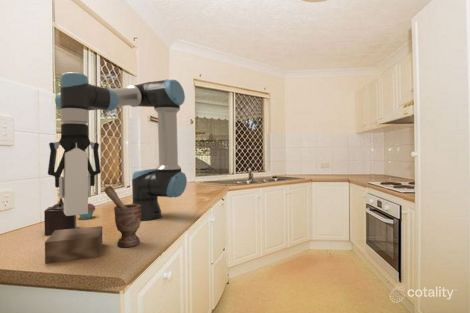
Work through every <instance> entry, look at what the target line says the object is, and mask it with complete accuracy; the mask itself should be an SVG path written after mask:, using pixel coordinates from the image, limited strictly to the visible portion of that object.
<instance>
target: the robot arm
mask: <svg viewBox="0 0 470 313" xmlns="http://www.w3.org/2000/svg"><path fill="white" fill-rule="evenodd" d="M59 90H60V92H59V93H57V94H56V95H55V98H54V101H55V105H56V107H57V109H58V110H59V111H60V122H61V123H62V124H61V125H60V139H59V141H55V142H53V141H52V142H49V144H48V145H49V146H48V147H49V149H50V153H49V161H48V168H47V175H48V176H52V177H54V181H55V182H54V187H55V188H57V189H58V197H59V198H58V199H59V200H60V199H62V200H63V199H64V177H63V176H62V174H63V168H64V163H65V153H66V152H68V151H70V150H72V149H74V148H76V143H77V148H79V149H81V150H83V151H84V152H86V150H87V149H88V148H89V146H90V148H91V150H92V151H93V158H94V159H93V160H94V165H95V166H94V167H95V170H94V168H93V165H92V164H91V161H90V158H88V174H89V175H88V198H91V197H92V187H94V186H95V183H96V180H95V179H96V178H95V177H96V175H99V174H100V173H102V169H101V163H100V155H99V149H100V148H99V147H100V143H98V142H92V141H90V139H89V125H88V123H89V111H97V110H98V111H99V110H100V111H101V110H102V111H105V112H106V111H108V112H112V111H114V110H116V109H117V107H124V106H130V107H134V108H135V107H144V108H145V107H147V108H154V109H153V110H154V111H155V112H156V113H157V133H158V136H157V137H158V138H157V140H158V142H157V143H158V166H156V168H152V169H151V168H150V169H149V168H148V169H143V170H142V169H141V170H136V171H135V170H134V171H133V173H132V179H131V184H132V188H131V190H132V192H131V193H132V203H131V204H139V205H141V221H151V220H156V219H160V218H162V210H161V206H160V204H159V201H158V200H159V198H158V197H162V198H179V197H181V195H182V194H184V192H185V190H186V187H187V184H188V179H187V176H186V174H185V173H184V172H182V167H181V166H180V165H179V157H178V156H179V153H178V150H179V149H178V119H177V118H178V115H177V114H178V112H179V111H180V110H181V109H180V108H181V106H182V105H183V104H184V103H185V98H186V95H185V91H184V90H185V89H184V88H183V86H182V85H181V83H180V82H179V81H178V80H176V79H164V80H163V79H162V80H156V81H155V80H154V81H148V82H147V81H146V82H143V83H140V84H134V85H132V84H131V85H128V86H127V87H119V88H118V87H117V88H115V87H114V88H107V87H102V86H97V85H93V84H90V83H89V78H88V76H87V75H85V74H83V73H80V72H71V71H68V72H64V73H62V74H61V75H60V85H59ZM60 146H61V148H62V149H63V153H62V157H61V159H60V161H59V163H58V165H57V169H56V170H55V168H56V160H57V152H58V149H59V147H60ZM86 153H87V152H86Z"/></svg>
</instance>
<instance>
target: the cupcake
mask: <svg viewBox="0 0 470 313" xmlns="http://www.w3.org/2000/svg"><path fill="white" fill-rule="evenodd" d="M95 211H96V205H94V204H92V203H88V214H81V215H79V219H81V220H88V219H92V218H93V214H94V212H95Z"/></svg>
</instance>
